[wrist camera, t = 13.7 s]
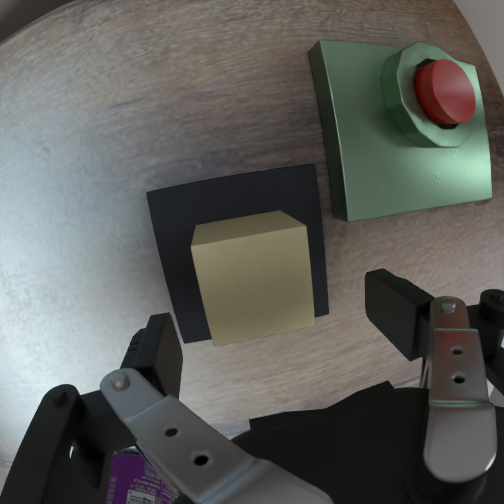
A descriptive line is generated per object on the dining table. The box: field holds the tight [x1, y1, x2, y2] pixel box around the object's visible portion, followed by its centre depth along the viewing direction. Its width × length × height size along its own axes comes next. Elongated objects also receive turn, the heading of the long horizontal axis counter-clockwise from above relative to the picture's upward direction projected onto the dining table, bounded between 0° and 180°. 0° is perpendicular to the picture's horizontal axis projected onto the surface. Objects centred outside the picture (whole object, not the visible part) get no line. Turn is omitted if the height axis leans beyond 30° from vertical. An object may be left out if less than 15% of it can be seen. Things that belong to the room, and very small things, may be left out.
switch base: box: [308, 40, 492, 223], centre depth 16 cm, size 14×11×4 cm
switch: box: [414, 59, 476, 125], centre depth 13 cm, size 4×4×2 cm
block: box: [191, 210, 315, 346], centre depth 16 cm, size 5×5×5 cm
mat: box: [146, 164, 329, 343], centre depth 18 cm, size 10×10×1 cm
